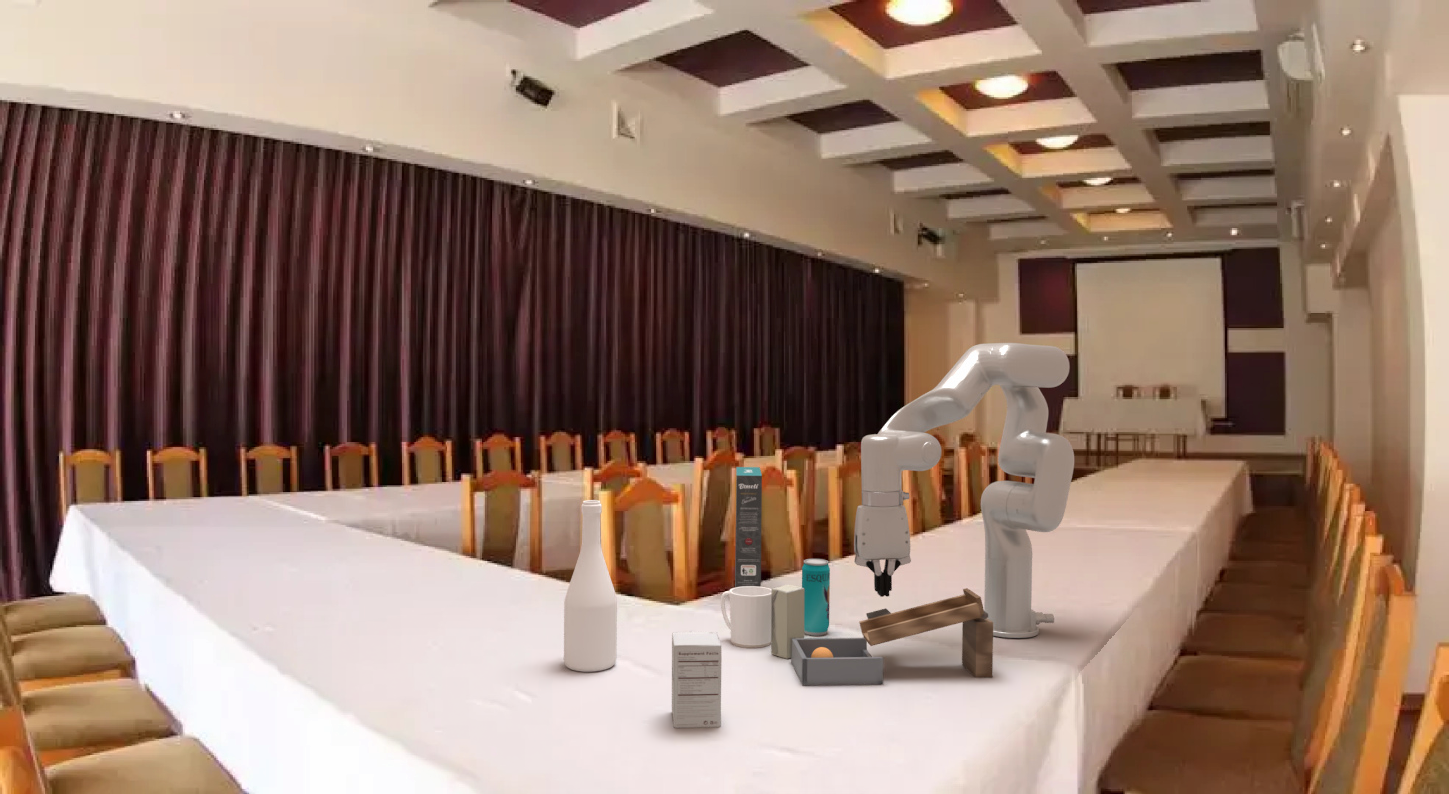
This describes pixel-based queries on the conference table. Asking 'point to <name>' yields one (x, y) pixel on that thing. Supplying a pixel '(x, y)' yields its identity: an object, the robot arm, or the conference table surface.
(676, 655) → the supplement box
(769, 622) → the mug
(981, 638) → the post
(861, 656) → the tray
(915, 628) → the lever
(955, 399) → the robot arm
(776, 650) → the box
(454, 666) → the conference table surface
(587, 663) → the wine bottle
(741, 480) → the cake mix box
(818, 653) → the ball
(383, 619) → the conference table surface
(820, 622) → the beverage can
